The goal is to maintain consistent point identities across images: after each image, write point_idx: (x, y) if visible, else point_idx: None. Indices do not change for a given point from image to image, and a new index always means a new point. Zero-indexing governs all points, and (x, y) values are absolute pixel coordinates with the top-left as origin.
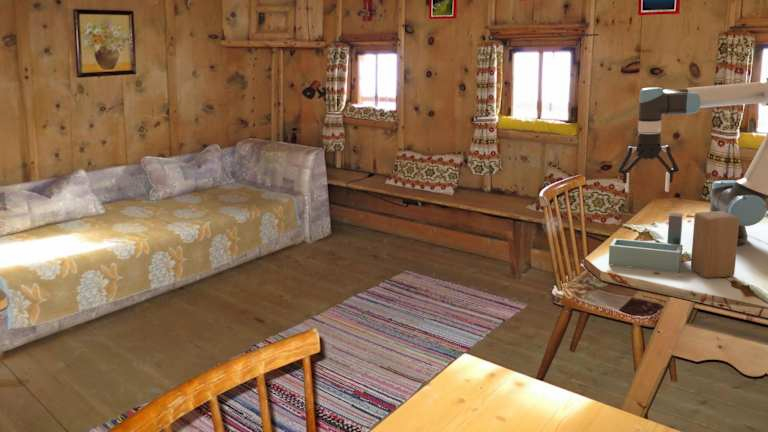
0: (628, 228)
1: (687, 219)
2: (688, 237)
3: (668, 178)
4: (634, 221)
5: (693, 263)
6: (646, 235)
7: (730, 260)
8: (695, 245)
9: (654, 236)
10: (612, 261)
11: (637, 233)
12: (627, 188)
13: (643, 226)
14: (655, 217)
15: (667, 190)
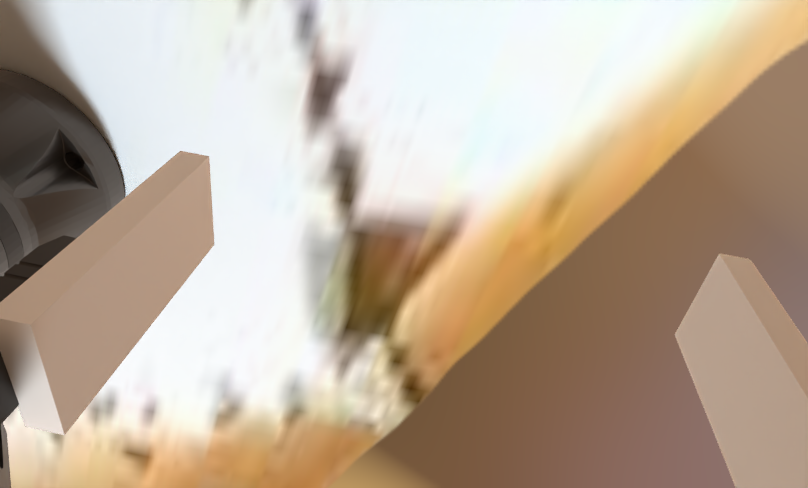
0: (413, 388)
1: (151, 430)
2: None
3: (72, 263)
4: (357, 453)
5: None
6: (367, 291)
7: None
8: None
9: (335, 271)
10: None
11: (399, 323)
12: (760, 293)
13: (341, 397)
14: (263, 472)
15: (189, 163)
